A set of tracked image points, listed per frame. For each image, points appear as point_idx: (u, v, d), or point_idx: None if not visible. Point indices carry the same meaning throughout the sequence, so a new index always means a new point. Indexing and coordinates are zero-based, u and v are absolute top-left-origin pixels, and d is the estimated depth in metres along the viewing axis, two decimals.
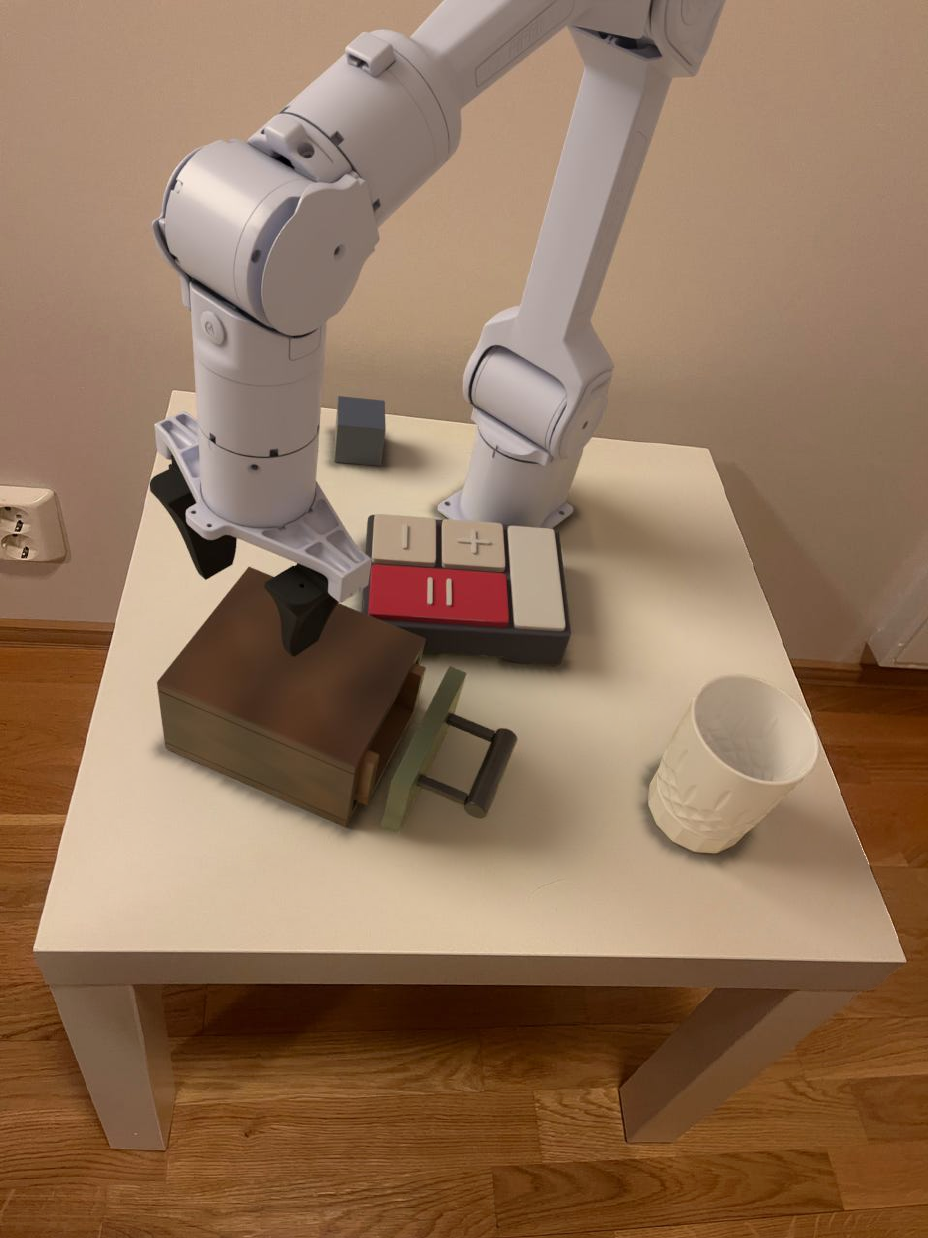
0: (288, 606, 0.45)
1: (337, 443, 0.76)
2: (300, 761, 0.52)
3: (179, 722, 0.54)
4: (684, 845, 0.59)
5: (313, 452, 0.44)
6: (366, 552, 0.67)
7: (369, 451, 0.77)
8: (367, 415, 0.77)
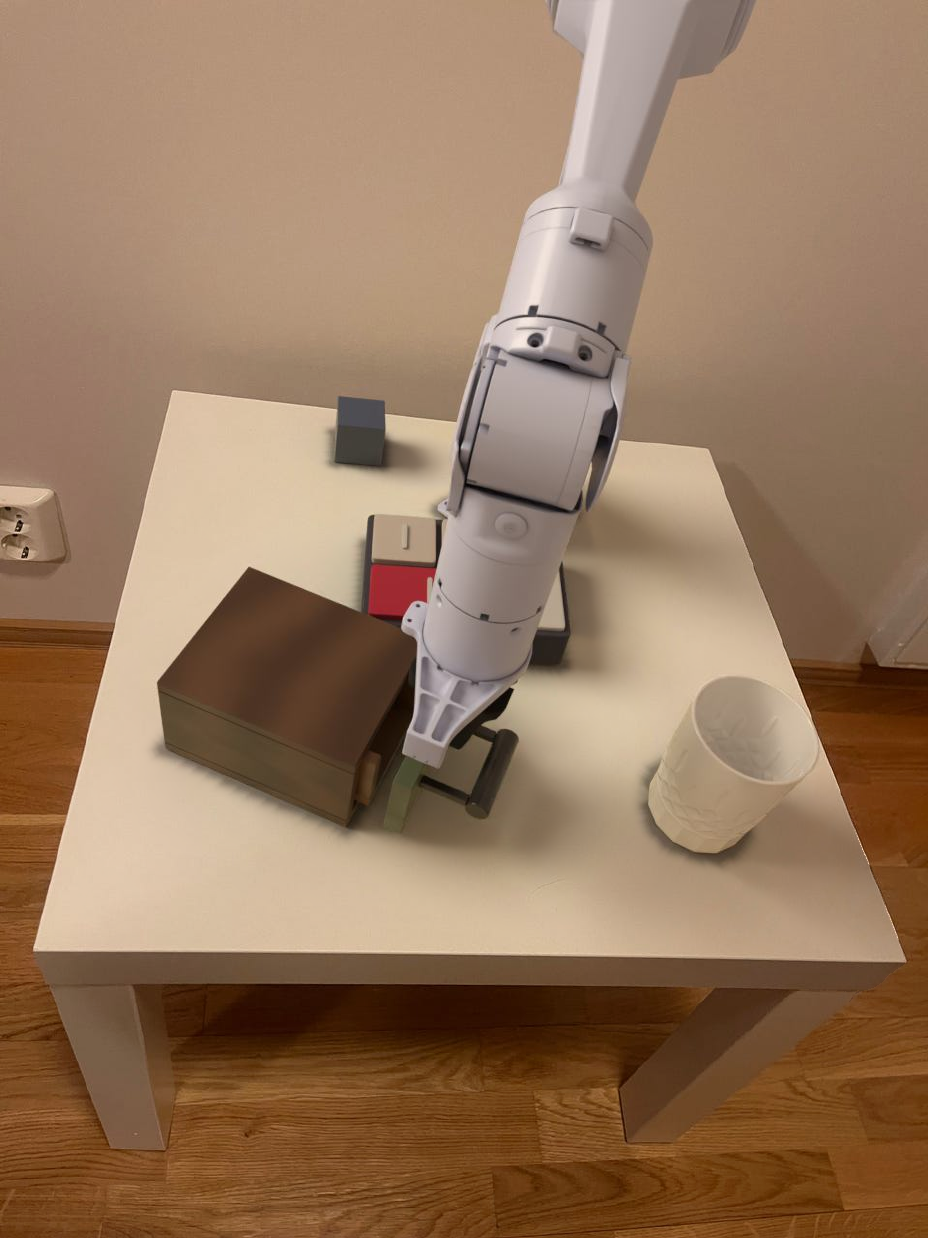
0: (409, 670, 0.49)
1: (337, 443, 0.76)
2: (300, 761, 0.52)
3: (179, 722, 0.54)
4: (684, 845, 0.59)
5: (493, 634, 0.44)
6: (366, 552, 0.67)
7: (369, 451, 0.77)
8: (367, 415, 0.77)
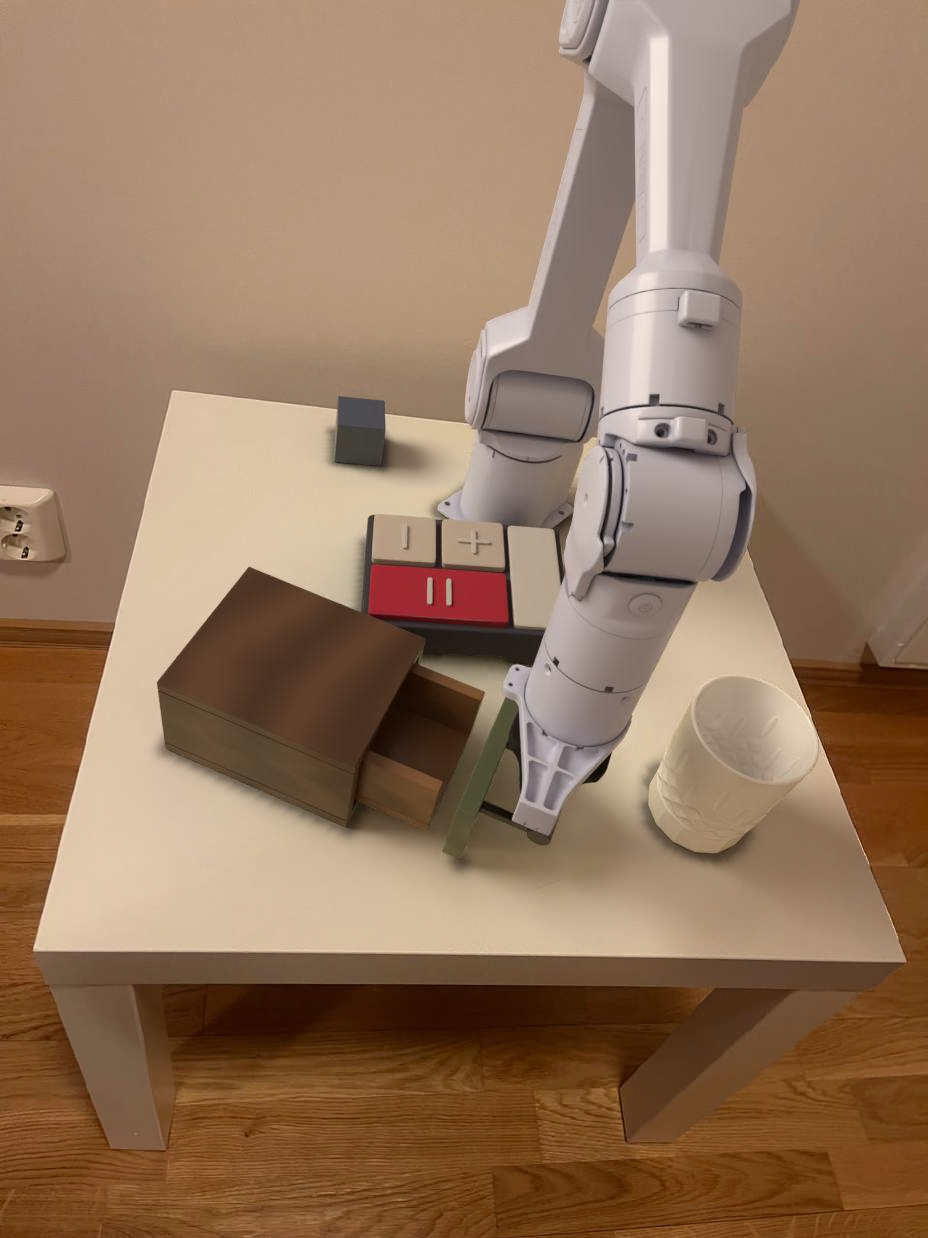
0: (509, 733, 0.49)
1: (337, 443, 0.76)
2: (300, 761, 0.52)
3: (179, 722, 0.54)
4: (684, 845, 0.59)
5: (603, 703, 0.44)
6: (366, 552, 0.67)
7: (369, 451, 0.77)
8: (367, 415, 0.77)
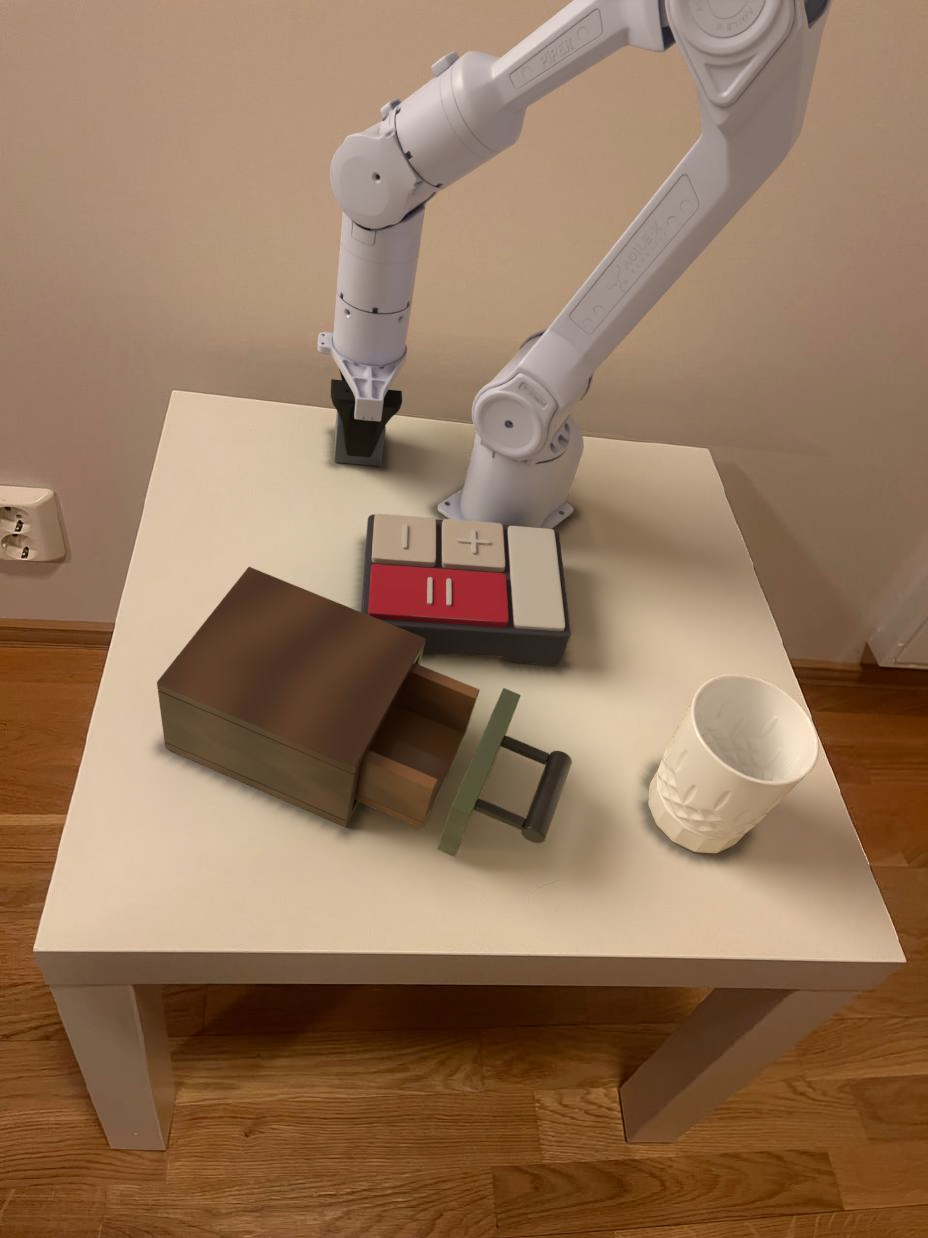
0: (331, 395, 0.70)
1: (337, 443, 0.76)
2: (300, 761, 0.52)
3: (179, 722, 0.54)
4: (684, 845, 0.59)
5: (388, 323, 0.68)
6: (366, 552, 0.67)
7: None
8: None
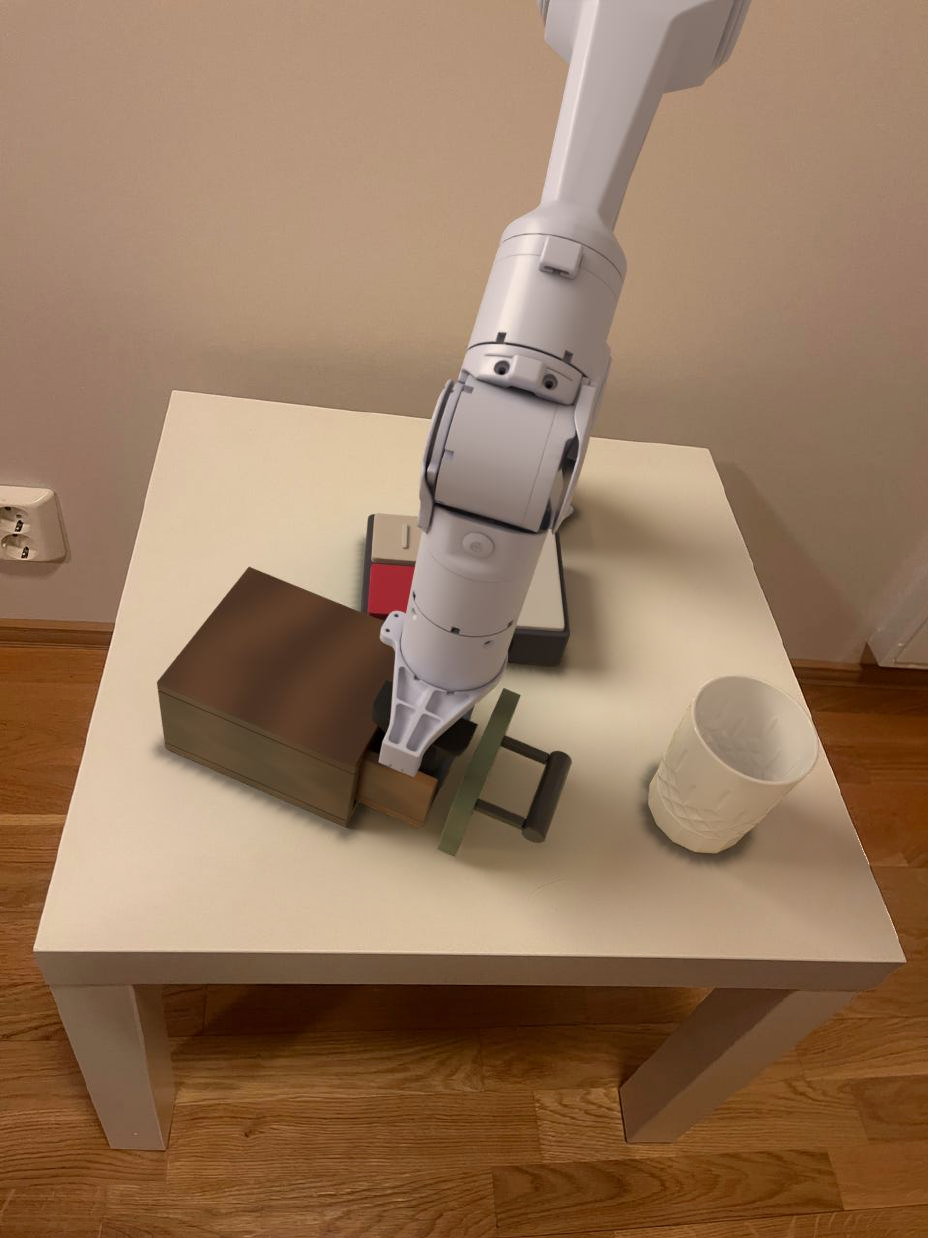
0: (372, 706, 0.49)
1: None
2: (300, 761, 0.52)
3: (179, 722, 0.54)
4: (684, 845, 0.59)
5: (466, 647, 0.45)
6: (366, 551, 0.67)
7: None
8: None
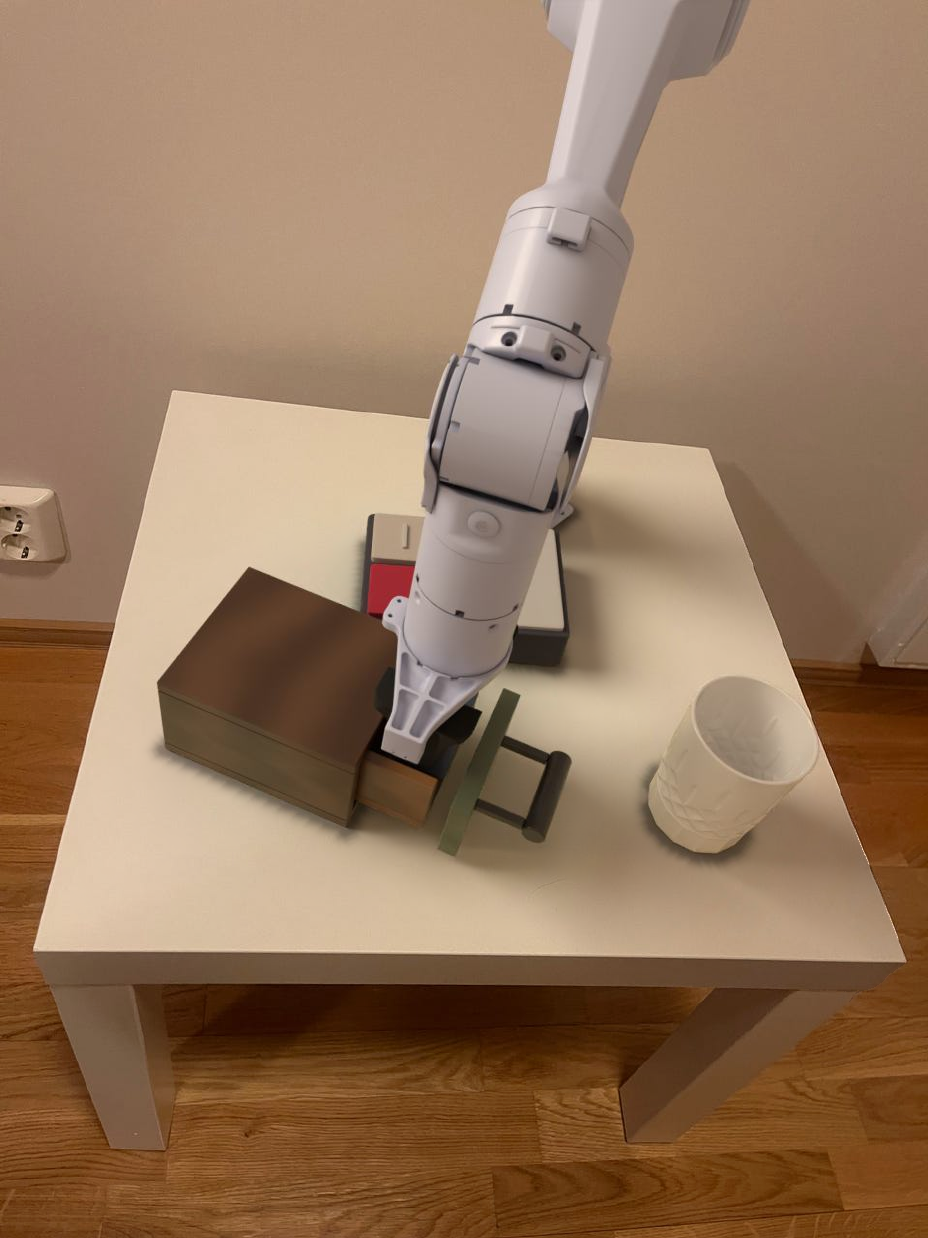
0: None
1: None
2: (300, 761, 0.52)
3: (179, 722, 0.54)
4: (684, 845, 0.59)
5: (471, 631, 0.44)
6: (366, 551, 0.67)
7: None
8: None
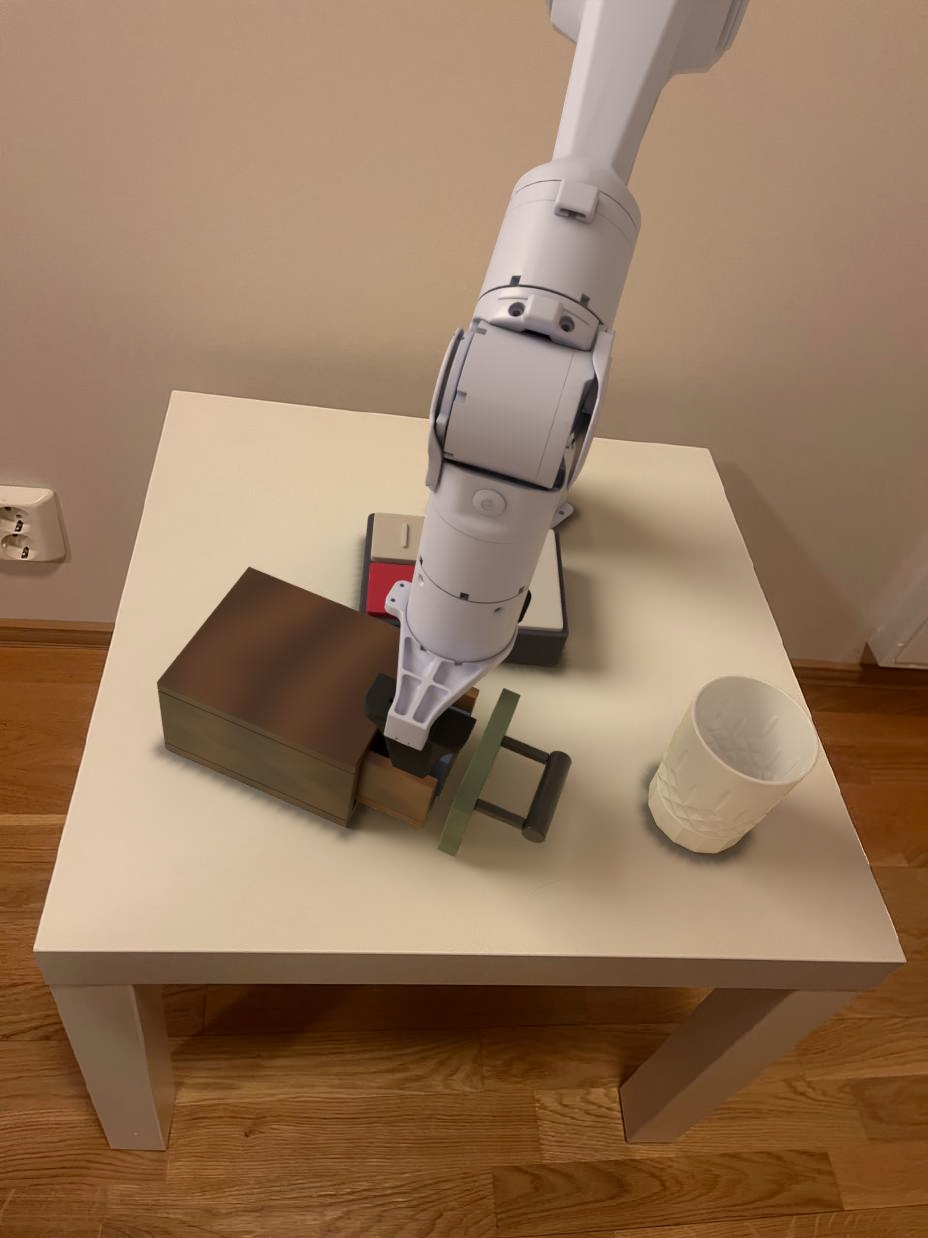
0: None
1: (385, 755, 0.55)
2: (300, 761, 0.52)
3: (179, 722, 0.54)
4: (684, 845, 0.59)
5: (476, 615, 0.43)
6: (365, 550, 0.68)
7: None
8: None
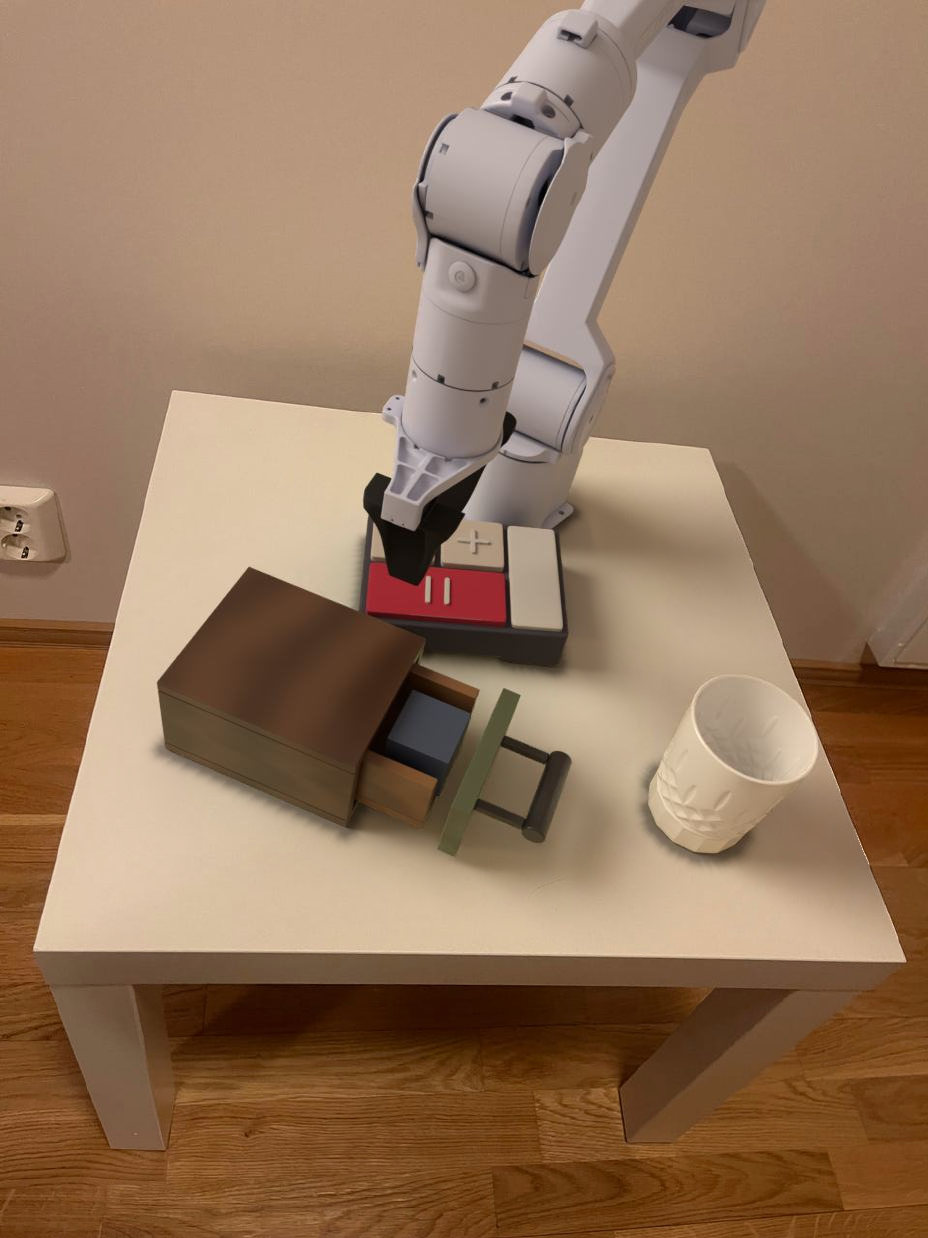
0: None
1: (385, 755, 0.55)
2: (300, 761, 0.52)
3: (179, 722, 0.54)
4: (684, 845, 0.59)
5: (463, 404, 0.48)
6: (365, 550, 0.68)
7: None
8: (436, 732, 0.55)
